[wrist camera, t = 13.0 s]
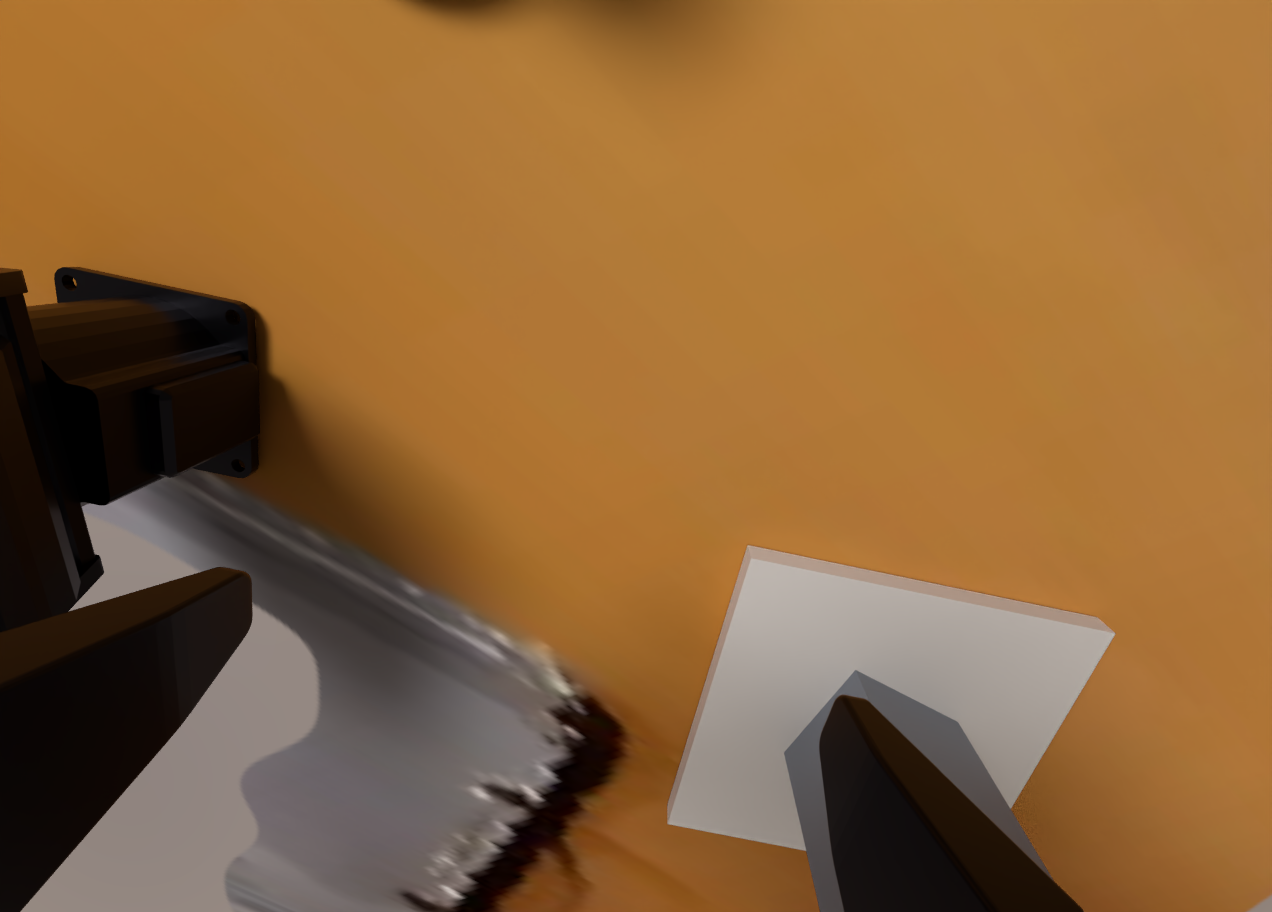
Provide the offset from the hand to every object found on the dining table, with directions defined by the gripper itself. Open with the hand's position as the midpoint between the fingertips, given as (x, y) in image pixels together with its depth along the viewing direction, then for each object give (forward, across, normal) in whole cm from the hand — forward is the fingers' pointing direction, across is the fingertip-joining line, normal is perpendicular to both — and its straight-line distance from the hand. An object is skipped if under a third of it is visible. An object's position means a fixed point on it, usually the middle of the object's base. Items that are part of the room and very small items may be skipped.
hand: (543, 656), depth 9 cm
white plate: (+13, -13, +11) cm, 21 cm away
